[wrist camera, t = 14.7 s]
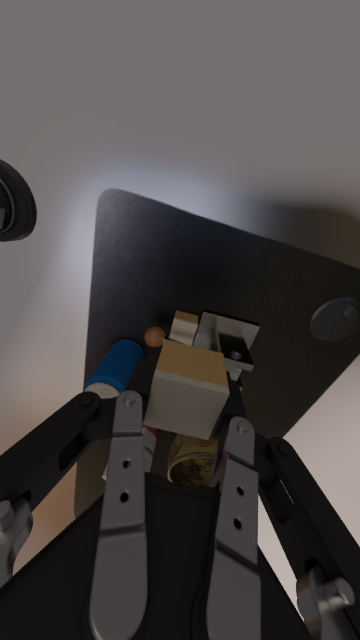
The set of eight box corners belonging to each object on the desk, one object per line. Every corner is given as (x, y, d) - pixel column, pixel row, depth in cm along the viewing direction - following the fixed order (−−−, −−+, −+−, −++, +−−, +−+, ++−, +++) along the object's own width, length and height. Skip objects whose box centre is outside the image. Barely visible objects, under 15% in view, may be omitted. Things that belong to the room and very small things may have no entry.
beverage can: (110, 357, 42) (79, 405, 31) (116, 332, 39) (84, 375, 28) (140, 367, 42) (119, 418, 31) (148, 343, 39) (129, 390, 28)
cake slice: (154, 382, 15) (142, 425, 12) (164, 338, 13) (153, 375, 10) (206, 395, 15) (207, 440, 12) (223, 353, 13) (230, 394, 10)
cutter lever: (148, 336, 34) (139, 346, 31) (152, 320, 32) (142, 328, 29) (236, 372, 31) (234, 386, 28) (244, 356, 29) (243, 369, 26)
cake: (164, 354, 40) (161, 366, 37) (176, 310, 35) (173, 318, 32) (184, 359, 40) (182, 371, 37) (198, 315, 36) (198, 325, 32)
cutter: (191, 346, 39) (188, 388, 29) (203, 309, 35) (204, 342, 25) (241, 359, 39) (255, 404, 29) (258, 323, 35) (280, 362, 26)
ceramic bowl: (219, 463, 54) (225, 543, 41) (160, 444, 53) (146, 520, 39) (264, 412, 44) (291, 495, 31) (193, 386, 43) (189, 461, 30)
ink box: (148, 415, 48) (134, 470, 38) (159, 428, 50) (148, 483, 40) (120, 425, 51) (100, 478, 40) (132, 436, 53) (115, 491, 42)
